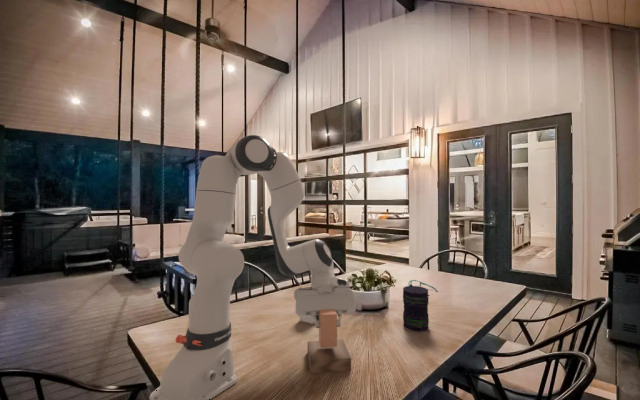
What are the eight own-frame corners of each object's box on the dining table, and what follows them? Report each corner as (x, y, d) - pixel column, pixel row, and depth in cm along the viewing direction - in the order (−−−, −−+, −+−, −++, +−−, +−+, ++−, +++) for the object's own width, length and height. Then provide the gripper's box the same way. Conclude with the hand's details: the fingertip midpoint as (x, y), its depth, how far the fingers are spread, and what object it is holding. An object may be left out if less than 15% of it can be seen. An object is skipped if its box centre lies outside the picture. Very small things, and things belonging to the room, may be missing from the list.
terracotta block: (337, 346, 89) (336, 313, 89) (320, 347, 88) (320, 314, 88) (334, 339, 94) (334, 308, 94) (319, 340, 93) (318, 308, 93)
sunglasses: (415, 286, 174) (416, 278, 174) (440, 294, 163) (440, 285, 163) (403, 290, 165) (403, 282, 165) (427, 299, 154) (428, 290, 154)
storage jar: (405, 319, 123) (405, 284, 123) (430, 324, 118) (429, 287, 119) (401, 329, 114) (400, 291, 114) (427, 333, 109) (427, 294, 110)
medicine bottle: (313, 324, 118) (313, 295, 119) (299, 320, 122) (299, 292, 122) (322, 318, 124) (322, 290, 125) (308, 315, 128) (308, 288, 128)
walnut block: (310, 374, 84) (310, 361, 84) (307, 353, 96) (307, 341, 96) (351, 371, 85) (351, 358, 86) (343, 351, 97) (342, 339, 97)
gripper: (294, 283, 97) (295, 324, 87) (353, 281, 99) (361, 320, 89) (293, 292, 101) (294, 332, 91) (350, 290, 104) (357, 329, 94)
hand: (328, 326), depth 90 cm, fingers closed on terracotta block, 5 cm apart
